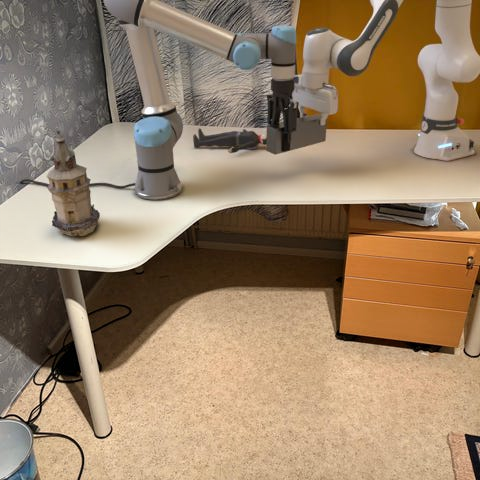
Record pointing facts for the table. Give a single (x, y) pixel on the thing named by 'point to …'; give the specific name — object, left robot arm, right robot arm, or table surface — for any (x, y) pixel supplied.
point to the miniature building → (70, 193)
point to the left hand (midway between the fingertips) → (280, 148)
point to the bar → (296, 134)
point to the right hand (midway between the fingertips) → (312, 121)
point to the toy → (230, 140)
